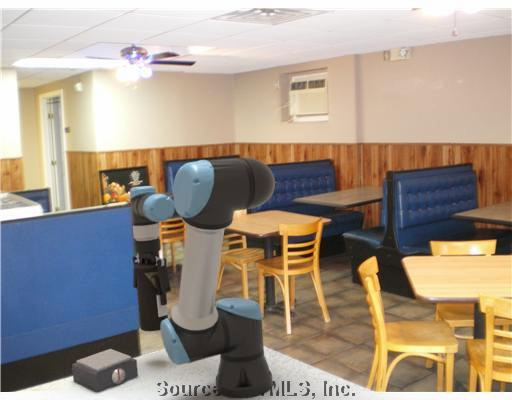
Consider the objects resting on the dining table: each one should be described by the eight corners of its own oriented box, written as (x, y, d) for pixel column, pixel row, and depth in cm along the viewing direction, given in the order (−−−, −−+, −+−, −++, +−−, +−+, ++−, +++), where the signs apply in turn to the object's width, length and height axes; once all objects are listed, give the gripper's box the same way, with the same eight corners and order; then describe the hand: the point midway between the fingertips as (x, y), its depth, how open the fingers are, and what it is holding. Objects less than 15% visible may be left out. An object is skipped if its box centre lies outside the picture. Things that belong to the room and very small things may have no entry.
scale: (139, 377, 158) (137, 356, 158) (99, 393, 149) (96, 372, 148) (113, 366, 168) (111, 347, 167) (73, 381, 159) (71, 361, 158)
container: (163, 332, 162) (157, 264, 160) (134, 332, 163) (128, 265, 161) (173, 322, 170) (168, 258, 168) (145, 323, 172) (140, 259, 170)
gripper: (179, 238, 160) (186, 315, 162) (137, 234, 174) (143, 305, 176) (158, 242, 154) (165, 322, 156) (116, 238, 169) (123, 311, 171)
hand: (153, 313), depth 166 cm, fingers closed on container, 8 cm apart
